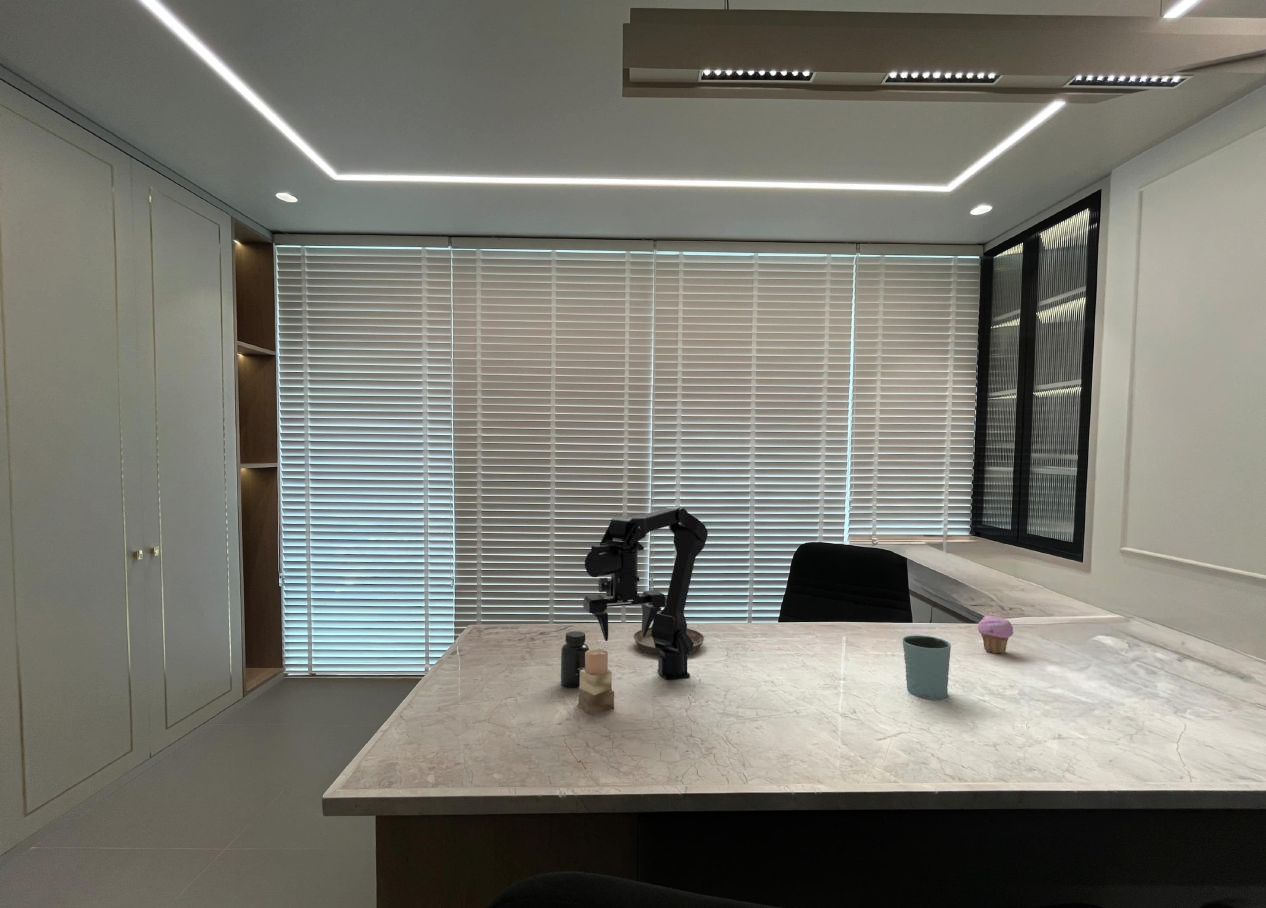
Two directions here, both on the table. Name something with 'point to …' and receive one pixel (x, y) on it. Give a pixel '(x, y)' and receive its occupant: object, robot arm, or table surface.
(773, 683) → the table surface
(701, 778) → the table surface
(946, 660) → the teal cup
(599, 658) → the peach cylinder
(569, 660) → the supplement bottle
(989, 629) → the cupcake
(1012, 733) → the table surface
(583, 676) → the oak block
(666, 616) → the robot arm
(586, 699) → the walnut block
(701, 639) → the plant saucer
